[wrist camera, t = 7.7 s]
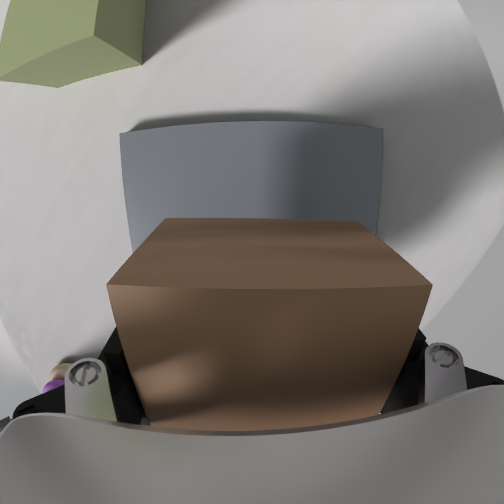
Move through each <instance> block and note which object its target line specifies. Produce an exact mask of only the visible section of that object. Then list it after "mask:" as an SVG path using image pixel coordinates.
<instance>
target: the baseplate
mask: <svg viewBox="0 0 504 504" xmlns="http://www.w3.org/2000/svg"><path fill="white" fill-rule="evenodd" d="M120 151H121V164H122V176H123V186H124V195H125V203H126V211H127V218H128V225H129V232H130V238H131V244H132V250H133V253H134V252H135V250H136V249H137V248H138V247H139V246H140V245H141V244H142V243H143V242H144V240H145V239H146V238H147V237H148V236H149V235H150V234H151V233H152V232H153V231H154V230H155V229H156V227H157V226H158V225H159V224H160V223H161V222H162V221H163V220H164V219H165V218H269V219H307V220H335V221H357V222H359V223H361V224H362V225H363V226H364V227H366V228H367V229H368V230H369V231H371V232H372V233H373V234H374V235H376V231H377V222H378V213H379V202H380V190H381V175H382V154H383V129H381V128H373V127H365V126H356V125H346V124H334V123H319V122H298V121H235V122H214V123H200V124H188V125H177V126H168V127H159V128H152V129H144V130H138V131H131V132H125V133H120Z"/></svg>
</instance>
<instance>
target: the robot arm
mask: <svg viewBox="0 0 504 504" xmlns="http://www.w3.org/2000/svg"><path fill="white" fill-rule="evenodd" d="M425 340H426V337H425V336H424V335H423V333H422V332H421V331H420V329H419V328H418V330H417V333H416V336H415V338H414V341H413V343H412V346H411V348H410V351H409V353H408V355H407V358H406V360H405V362H404V365H403V367H402V369H401V371H400V374H399V376H398V378H397V380H396V382H395V384H394V386H393V388H392V390H391V392H390V394H389V396H388V398H387V400H386V402H385V404H384V406H383V408H382V410H381V412H380V413H381V414H380V415H375V416H371V417H366V418H361V419H355V420H350V421H344V422H338V423H331V424H324V425H317V426H309V427H299V428H288V429H275V430H255V431H206V430H186V429H172V428H162V427H153V426H151V425H150V423H149V420H148V418H147V415H146V413H145V410H144V408H143V405H142V403H141V400H140V398H139V395H138V392H137V390H136V387H135V384H134V381H133V378H132V376H131V373H130V370H129V367H128V364H127V360H126V357H125V354H124V351H123V348H122V344H121V341H120V337H119V334H118V330H117V327H116V328H115V330H114V331H113V333H112V335H111V336H110V338H109V340H108V342H107V343H106V345H105V347H104V349H103V350H102V352H101V354H100V356H99V358H98V359H96V358H84V359H81V360H78V361H76V362H74V363H73V364H72V365H71V366H70V367H68V369H67V371H66V373H65V384H64V385H61V386H59V387H57V388H55V389H52V390H50V391H48V392H45V393H43V394H41V395H38V396H36V397H34V398H31V399H29V400H26V401H24V402H23V403H21V404H20V405H19V406H18V407H17V408H16V409H15V411H14V413H13V419H10V417H9V416H8V417H6V418H4V419H2V420H0V504H504V380H502V379H500V378H497V377H494V376H491V375H488V374H485V373H482V372H479V371H476V370H473V369H470V368H468V367H465V366H464V363H463V358H462V355H461V353H460V352H459V351H458V350H457V349H456V348H455V347H453V346H451V345H449V344H446V343H439V342H437V343H432V344H430V345H428V344H427V343H426V342H425ZM144 425H146V426H144Z"/></svg>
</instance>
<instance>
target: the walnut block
mask: <svg viewBox="0 0 504 504" xmlns="http://www.w3.org/2000/svg"><path fill="white" fill-rule="evenodd" d="M106 285H107V290H108V294H109V299H110V303H111V307H112V311H113V315H114V319H115V323H116V327H117V330H118V334H119V337H120V341H121V344H122V348H123V351H124V354H125V357H126V360H127V364H128V367H129V370H130V373H131V376H132V378H133V381H134V384H135V387H136V390H137V392H138V395H139V398H140V400H141V403H142V405H143V408H144V410H145V413H146V415H147V418H148V420H149V423H150V425H151V426H153V427H162V428H172V429H186V430H206V431H255V430H275V429H288V428H299V427H309V426H317V425H324V424H331V423H338V422H344V421H350V420H355V419H361V418H366V417H371V416H375V415H379V413H380V412H381V410H382V408H383V406H384V404H385V402H386V400H387V398H388V396H389V394H390V392H391V390H392V388H393V386H394V384H395V382H396V380H397V378H398V376H399V374H400V371H401V369H402V367H403V365H404V362H405V360H406V358H407V355H408V353H409V351H410V348H411V346H412V343H413V341H414V338H415V336H416V333H417V330H418V328H419V325H420V322H421V319H422V316H423V314H424V311H425V308H426V305H427V302H428V298H429V295H430V292H431V289H432V285H433V284H431V283H430V282H429V281H428V280H427V279H426V278H425V277H424V276H423V275H422V274H420V273H419V272H418V271H417V270H416V269H415V268H414V267H413V266H411V265H410V264H409V263H408V262H407V261H406V260H404V259H403V258H402V257H401V256H400V255H399V254H397V253H396V252H395V251H394V250H393V249H392V248H390V247H389V246H388V245H387V244H386V243H384V242H383V241H382V240H381V239H379V238H378V237H377V236H376V235H374V234H373V233H372V232H371V231H369V230H368V229H367V228H366V227H364V226H363V225H362V224H361V223H359V222H357V221H335V220H307V219H269V218H165V219H164V220H163V221H162V222H161V223H160V224H159V225H158V226H157V227H156V229H155V230H154V231H153V232H152V233H151V234H150V235H149V236H148V237H147V238H146V239H145V240H144V242H143V243H142V244H141V245H140V246H139V247H138V248H137V249H136V250H135V252H134V253H133V254H132V255H131V256H130V257H129V258H128V260H127V261H126V262H125V263H124V264H123V265H122V266H121V268H120V269H119V270H118V271H117V272H116V273H115V275H114V276H113V277H112V278H111V279H110V281H109V282H108V283H107V284H106Z"/></svg>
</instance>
